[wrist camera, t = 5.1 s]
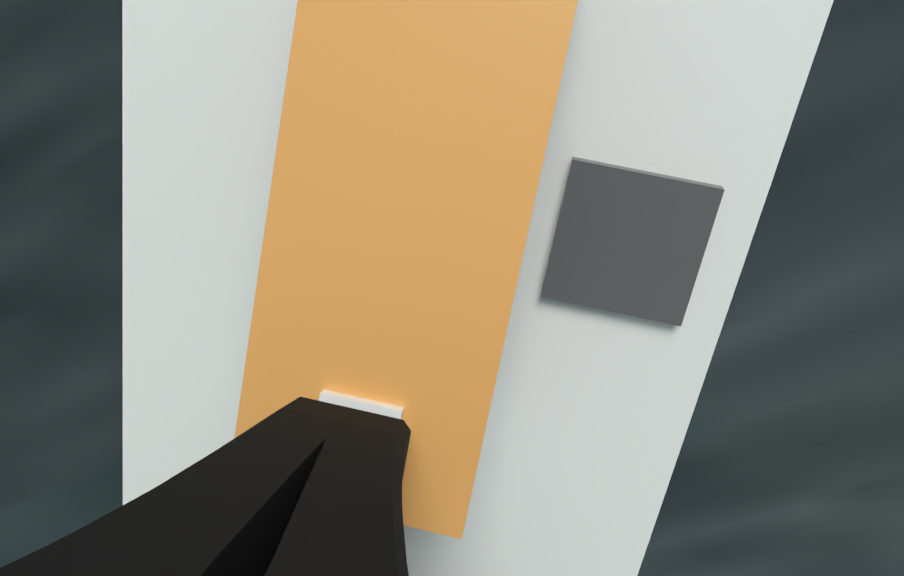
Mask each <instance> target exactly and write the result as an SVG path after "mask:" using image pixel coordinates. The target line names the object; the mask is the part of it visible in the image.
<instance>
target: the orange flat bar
mask: <svg viewBox="0 0 904 576" xmlns="http://www.w3.org/2000/svg"><path fill="white" fill-rule="evenodd" d="M577 3H578V0H298V2H297V9H296V16H295V23H294V30H293V37H292V44H291V50H290V57H289V64H288V71H287V78H286V85H285V92H284V99H283V106H282V113H281V120H280V126H279V133H278V140H277V147H276V154H275V161H274V168H273V175H272V182H271V189H270V196H269V203H268V209H267V216H266V223H265V230H264V237H263V244H262V251H261V258H260V265H259V272H258V279H257V285H256V292H255V299H254V306H253V313H252V320H251V327H250V334H249V341H248V348H247V355H246V362H245V368H244V375H243V382H242V389H241V396H240V403H239V410H238V417H237V424H236V431H235V438H236V437H237V436H239V435H240V434H242V433H243V432H245V431H247V430H248V429H250V428H251V427H253V426H254V425H256V424H257V423H259V422H260V421H262V420H263V419H265V418H267V417H268V416H270V415H271V414H273V413H274V412H276V411H277V410H279V409H281V408H282V407H284V406H286V405H287V404H289V403H290V402H292V401H294V400H295V399H297V398H299V397H305V398H309V399H314V400H318V401H322V402H327V403H331V404H336V405H340V406H345V407H349V408H353V409H358V410H362V411H367V412H371V413H376V414H380V415H384V416H389V417H393V418H398V419H402V420H404V421H405V423H406V424H407V426H408V427H409V429H410V430H411V435H410V441H409V446H408V452H407V458H406V464H405V469H404V475H403V481H402V511H403V525H404V526H408V527H412V528H416V529H421V530H425V531H429V532H433V533H438V534H442V535H446V536H450V537H455V538H459V539H462V536H463V531H464V527H465V522H466V517H467V513H468V508H469V503H470V499H471V494H472V490H473V485H474V480H475V476H476V471H477V466H478V462H479V457H480V452H481V448H482V443H483V439H484V434H485V429H486V425H487V420H488V415H489V411H490V406H491V401H492V397H493V392H494V388H495V383H496V378H497V374H498V369H499V364H500V360H501V355H502V350H503V346H504V341H505V337H506V332H507V327H508V323H509V318H510V313H511V309H512V304H513V299H514V295H515V290H516V286H517V281H518V276H519V272H520V267H521V262H522V258H523V253H524V248H525V244H526V239H527V235H528V230H529V225H530V221H531V216H532V211H533V207H534V202H535V198H536V193H537V188H538V184H539V179H540V174H541V170H542V165H543V160H544V156H545V151H546V147H547V142H548V137H549V133H550V128H551V123H552V119H553V114H554V109H555V105H556V100H557V96H558V91H559V86H560V82H561V77H562V72H563V68H564V63H565V58H566V54H567V49H568V45H569V40H570V35H571V31H572V26H573V21H574V17H575V12H576V7H577Z"/></svg>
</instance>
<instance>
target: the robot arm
mask: <svg viewBox="0 0 904 576" xmlns="http://www.w3.org/2000/svg"><path fill="white" fill-rule="evenodd" d="M410 435H411V430H410V429H409V427H408V426H407V424H406V423H405V421H404V420H402V419H398V418H393V417H389V416H384V415H380V414H376V413H371V412H367V411H362V410H358V409H353V408H349V407H345V406H340V405H336V404H331V403H327V402H322V401H318V400H314V399H309V398H305V397H299V398H297V399H295V400H294V401H292V402H290V403H289V404H287V405H286V406H284V407H282V408H281V409H279V410H277V411H276V412H274V413H273V414H271V415H270V416H268V417H267V418H265V419H263V420H262V421H260V422H259V423H257V424H256V425H254V426H253V427H251V428H250V429H248V430H247V431H245V432H243V433H242V434H240V435H239V436H237V437H236V438H234V439H233V440H231V441H230V442H228V443H226V444H225V445H223V446H222V447H220V448H219V449H217V450H216V451H214V452H212V453H211V454H209V455H207V456H206V457H204V458H203V459H201V460H199V461H198V462H196V463H194V464H193V465H191V466H190V467H188V468H186V469H185V470H183V471H181V472H180V473H178V474H176V475H175V476H173V477H172V478H170V479H168V480H167V481H165V482H163V483H162V484H160V485H158V486H157V487H155V488H153V489H152V490H150V491H148V492H146V493H144V494H143V495H141V496H139V497H137V498H135V499H134V500H132V501H130V502H128V503H126V504H125V505H123V506H121V507H119V508H117V509H115V510H114V511H112V512H110V513H108V514H106V515H105V516H103V517H101V518H99V519H97V520H95V521H94V522H92V523H90V524H88V525H86V526H85V527H83V528H81V529H79V530H77V531H75V532H73V533H72V534H70V535H68V536H66V537H64V538H62V539H60V540H58V541H56V542H54V543H52V544H50V545H48V546H46V547H44V548H41V549H39V550H37V551H35V552H33V553H31V554H29V555H27V556H25V557H23V558H21V559H19V560H17V561H14V562H12V563H10V564H8V565H6V566H3V567H1V568H0V576H409V575H408V567H407V559H406V548H405V536H404V525H403V511H402V481H403V475H404V469H405V464H406V458H407V452H408V446H409V441H410Z"/></svg>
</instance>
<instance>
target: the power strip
mask: <svg viewBox="0 0 904 576" xmlns="http://www.w3.org/2000/svg"><path fill="white" fill-rule="evenodd" d="M833 1H834V0H578V3H577V7H576V12H575V17H574V21H573V26H572V31H571V35H570V40H569V45H568V49H567V54H566V58H565V63H564V68H563V72H562V77H561V82H560V86H559V91H558V96H557V100H556V105H555V109H554V114H553V119H552V123H551V128H550V133H549V137H548V142H547V147H546V151H545V156H544V160H543V165H542V170H541V174H540V179H539V184H538V188H537V193H536V198H535V202H534V207H533V211H532V216H531V221H530V225H529V230H528V235H527V239H526V244H525V248H524V253H523V258H522V262H521V267H520V272H519V276H518V281H517V286H516V290H515V295H514V299H513V304H512V309H511V313H510V318H509V323H508V327H507V332H506V337H505V341H504V346H503V350H502V355H501V360H500V364H499V369H498V374H497V378H496V383H495V388H494V392H493V397H492V401H491V406H490V411H489V415H488V420H487V425H486V429H485V434H484V439H483V443H482V448H481V452H480V457H479V462H478V466H477V471H476V476H475V480H474V485H473V490H472V494H471V499H470V503H469V508H468V513H467V517H466V522H465V527H464V531H463V536H462V539H459V538H455V537H450V536H446V535H442V534H438V533H433V532H429V531H425V530H421V529H416V528H412V527H408V526H404V536H405V548H406V559H407V567H408V575H409V576H637V575H638V572H639V569H640V566H641V563H642V560H643V557H644V554H645V552H646V549H647V546H648V543H649V540H650V537H651V534H652V531H653V528H654V525H655V522H656V519H657V516H658V513H659V510H660V508H661V505H662V502H663V499H664V496H665V493H666V490H667V487H668V484H669V481H670V478H671V475H672V472H673V469H674V467H675V464H676V461H677V458H678V455H679V452H680V449H681V446H682V443H683V440H684V437H685V434H686V431H687V428H688V426H689V423H690V420H691V417H692V414H693V411H694V408H695V405H696V402H697V399H698V396H699V393H700V390H701V387H702V384H703V382H704V379H705V376H706V373H707V370H708V367H709V364H710V361H711V358H712V355H713V352H714V349H715V346H716V343H717V341H718V338H719V335H720V332H721V329H722V326H723V323H724V320H725V317H726V314H727V311H728V308H729V305H730V302H731V300H732V297H733V294H734V291H735V288H736V285H737V282H738V279H739V276H740V273H741V270H742V267H743V264H744V261H745V258H746V256H747V253H748V250H749V247H750V244H751V241H752V238H753V235H754V232H755V229H756V226H757V223H758V220H759V217H760V215H761V212H762V209H763V206H764V203H765V200H766V197H767V194H768V191H769V188H770V185H771V182H772V179H773V176H774V174H775V171H776V168H777V165H778V162H779V159H780V156H781V153H782V150H783V147H784V144H785V141H786V138H787V135H788V132H789V130H790V127H791V124H792V121H793V118H794V115H795V112H796V109H797V106H798V103H799V100H800V97H801V94H802V91H803V89H804V86H805V83H806V80H807V77H808V74H809V71H810V68H811V65H812V62H813V59H814V56H815V53H816V50H817V48H818V45H819V42H820V39H821V36H822V33H823V30H824V27H825V24H826V21H827V18H828V15H829V12H830V9H831V6H832V4H833ZM297 2H298V0H123V505H125V504H126V503H128V502H130V501H132V500H134V499H135V498H137V497H139V496H141V495H143V494H144V493H146V492H148V491H150V490H152V489H153V488H155V487H157V486H158V485H160V484H162V483H163V482H165V481H167V480H168V479H170V478H172V477H173V476H175V475H176V474H178V473H180V472H181V471H183V470H185V469H186V468H188V467H190V466H191V465H193V464H194V463H196V462H198V461H199V460H201V459H203V458H204V457H206V456H207V455H209V454H211V453H212V452H214V451H216V450H217V449H219V448H220V447H222V446H223V445H225V444H226V443H228V442H230V441H231V440H233V439H234V438H235V431H236V424H237V417H238V410H239V403H240V396H241V389H242V382H243V375H244V368H245V362H246V355H247V348H248V341H249V334H250V327H251V320H252V313H253V306H254V299H255V292H256V285H257V279H258V272H259V265H260V258H261V251H262V244H263V237H264V230H265V223H266V216H267V209H268V203H269V196H270V189H271V182H272V175H273V168H274V161H275V154H276V147H277V140H278V133H279V126H280V120H281V113H282V106H283V99H284V92H285V85H286V78H287V71H288V64H289V57H290V50H291V44H292V37H293V30H294V23H295V16H296V9H297Z"/></svg>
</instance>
